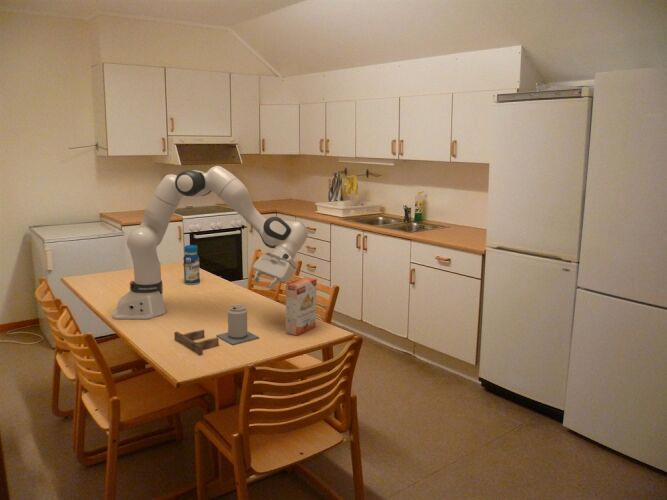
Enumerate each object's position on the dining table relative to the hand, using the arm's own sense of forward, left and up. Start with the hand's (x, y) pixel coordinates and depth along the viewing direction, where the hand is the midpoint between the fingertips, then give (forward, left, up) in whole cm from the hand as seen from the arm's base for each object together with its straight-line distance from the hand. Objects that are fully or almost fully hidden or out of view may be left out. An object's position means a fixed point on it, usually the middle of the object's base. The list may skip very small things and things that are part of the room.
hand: (262, 284), depth 227 cm
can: (-10, -6, -19) cm, 23 cm away
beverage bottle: (-28, +80, -20) cm, 87 cm away
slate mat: (-10, -6, -19) cm, 23 cm away
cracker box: (+16, -2, -20) cm, 25 cm away
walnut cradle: (-24, -10, -19) cm, 33 cm away
